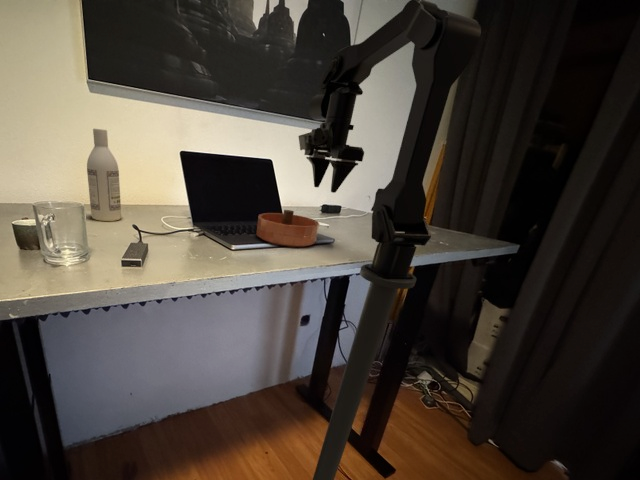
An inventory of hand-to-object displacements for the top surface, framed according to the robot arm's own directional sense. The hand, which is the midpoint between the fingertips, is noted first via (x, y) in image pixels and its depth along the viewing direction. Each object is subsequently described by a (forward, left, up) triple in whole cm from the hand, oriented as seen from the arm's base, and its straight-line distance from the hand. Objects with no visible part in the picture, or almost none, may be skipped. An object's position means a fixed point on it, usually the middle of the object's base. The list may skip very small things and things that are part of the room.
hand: (324, 189), depth 81 cm
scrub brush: (-4, +10, -11) cm, 16 cm away
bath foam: (+10, +53, -12) cm, 55 cm away
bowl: (-4, +10, -12) cm, 16 cm away
